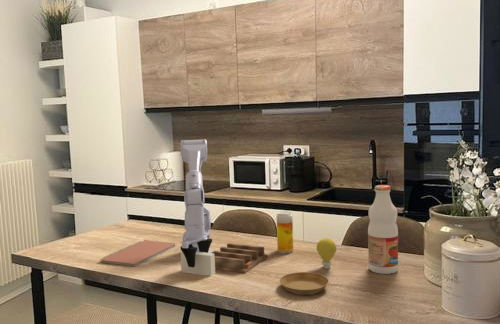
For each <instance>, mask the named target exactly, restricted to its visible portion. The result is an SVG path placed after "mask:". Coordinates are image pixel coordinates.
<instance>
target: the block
mask: <svg viewBox="0 0 500 324" xmlns="http://www.w3.org/2000/svg"><path fill="white" fill-rule="evenodd" d="M179 253H180V254H179V255H180V268H181V269H180V271H181V272H182V273H187V274H193V275H203V276H210V277H212V276H214V275H215V274H216V269H215V256H214V254H213V252H212V253H205V252H197V251H196V256H195V267H188V264H187V261H186V258H185V256H184V254H183V252H182V251H180V252H179Z"/></svg>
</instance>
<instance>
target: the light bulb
mask: <svg viewBox="0 0 500 324" xmlns="http://www.w3.org/2000/svg"><path fill="white" fill-rule="evenodd" d="M316 251H317V254H318V255H319V257H320V258H321V260H322V261H321V264H322V265H323V268H324V269H330V268H331V265H333V263H332V259H333V258H334V256H335V254H336V252H337V244H336V243H335V241H334V240H333V239H331V238H327V237H324V238H322V239H320V240H319V241H318V242H317V245H316Z"/></svg>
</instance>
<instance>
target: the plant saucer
mask: <svg viewBox="0 0 500 324" xmlns="http://www.w3.org/2000/svg"><path fill="white" fill-rule="evenodd" d="M279 283H280V284H281V286H282V287H283V288H284V289H285V290H287V292H289V293H291V294H293V295H294V294H295V295H300V296H301V295H302V296H308V295H315V294H318V293H320V292H322V291H323V290H324V289H326V287H327V286H328V285H329V283H330V280H329V278H327V276H325V275H323V274H321V273H316V272H311V271H310V272H307V271H299V272H293V273H288V274H286V275H285V274H284V275H283V276H281V277H280V278H279Z"/></svg>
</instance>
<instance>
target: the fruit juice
mask: <svg viewBox="0 0 500 324" xmlns="http://www.w3.org/2000/svg"><path fill="white" fill-rule="evenodd" d="M391 189H392V188H391V186H390V185H386V184H380V185H379V184H378V185H375V186H374V191H375V197H374V200H373V203H372V204H371V205H370V206H369V208H368V213H367V214H368V218H369V224H368V227H367V237H368V238H367V240H368V241H367V242H368V245H367V247H368V257H367V258H368V269H369V271H371V272H373V273H376V274H379V273H380V275H390V274H391V273H392V274H394V273H397V272H398V271H399V269H398V268H399V229H398V224H397V219H398V209H397V208H396V206H395V205H394V204H393V202H392V199H391V196H390V192H391Z"/></svg>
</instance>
